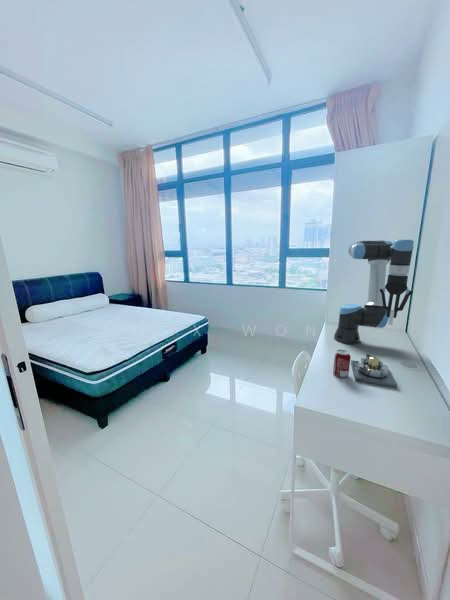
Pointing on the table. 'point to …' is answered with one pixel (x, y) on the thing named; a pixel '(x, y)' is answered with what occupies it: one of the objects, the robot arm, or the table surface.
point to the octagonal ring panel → (376, 373)
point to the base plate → (380, 381)
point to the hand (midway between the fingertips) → (390, 323)
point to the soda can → (341, 363)
